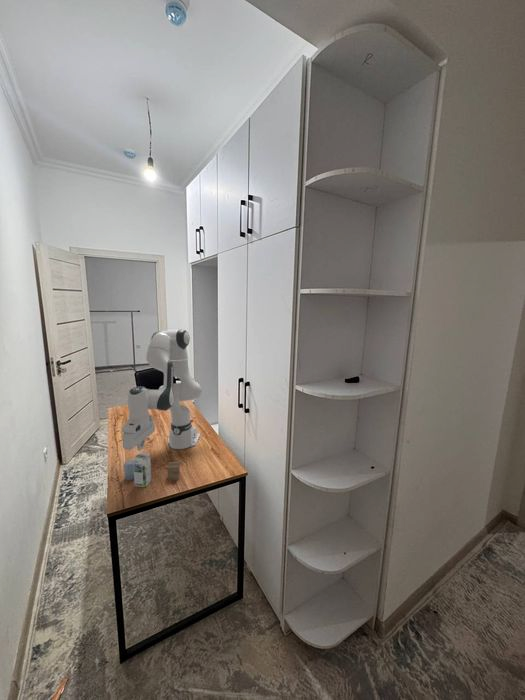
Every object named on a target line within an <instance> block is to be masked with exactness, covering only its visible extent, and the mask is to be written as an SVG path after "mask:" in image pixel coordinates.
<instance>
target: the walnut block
mask: <svg viewBox="0 0 525 700" xmlns="http://www.w3.org/2000/svg"><path fill="white" fill-rule="evenodd" d="M166 468H167V482H169V481H179V478H180V461H170V462H168V465H167V467H166Z"/></svg>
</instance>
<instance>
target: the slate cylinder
mask: <svg viewBox="0 0 525 700" xmlns="http://www.w3.org/2000/svg"><path fill="white" fill-rule="evenodd" d="M123 470H124V471H123V473H124V480H125V481H126V482H130V481H131V482H132V481H134V464H133V459H131V460H127V461H125V462H124V463H123Z"/></svg>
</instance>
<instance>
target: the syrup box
mask: <svg viewBox="0 0 525 700" xmlns="http://www.w3.org/2000/svg"><path fill="white" fill-rule="evenodd" d="M132 460H133V464H134V479H133V481H134V487H140V488H146V487H147V486H148V485H149V484H150V483H151V482H152V467H151V466H152V465H151V454H150V453H144V452H143V453H141V452H139V453H138V454H136V455H135V456H134V457H133V458H132Z"/></svg>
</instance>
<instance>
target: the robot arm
mask: <svg viewBox="0 0 525 700" xmlns="http://www.w3.org/2000/svg"><path fill="white" fill-rule="evenodd" d="M190 341H191V339H190V335H189V332H188V331H187V330H185V329H169V330H162V331H161V330H159V331H155V332H154V333H153V334H152V335H151V338H150V342H149V345H148V348H147V352H146V355H145V357H146V362H147V363H148V364H149V366H150V367H152V368H153V369H155V370H157V371H159V372H162V373H163V385H161V386H159V388H158V389H152V388H151V389H150V388H146V387H145V386H141V385H140V386H139V385H138V386H135V387H131V388H130V389H129V390H128V394H127V409H128V420H127V421H126V423H125V424H124V425H123V426H122V428H121V432H123V434H122V436H121V439H122V448H123V449H124V450H127V451H128V450H129V451H131V450H133V449H134V448H137V451H138V452H140V451H142V450H143V449H145V444H146V439H147V438H149V437H150V436H152V434H153V433H155V430H156V427H155V421H154V419H153V415H151V414H150V412H149V410H158V411H165V412H166V411H168V410H169V411H170V417H171V423H170V430H169V435H168V440H167V444H168V445H169V447H170V448H171V449H174V450H185V449H189V448H190V447H196V446H197V444H198V442H199V440H200V438H201V433H199V432H198V431H197V427H196V426H194V425H192V423H193V422H194V419H193V418H191V410H190V408H189V407H187V406H186V405H184V404H181V403H180V402H186V401H194V400H197V399H199V398H200V397H201V395H202V392H203V389H202V386H201V385H200V383H198V382H197V381H196V380H194V378H193V377H192V375H191V373H190V369H189V357H188V350H187V347H188V346H189V344H190ZM174 378H176V379H179V381H180V382H177V383H174ZM199 437H200V438H199ZM198 439H199V440H198Z"/></svg>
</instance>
